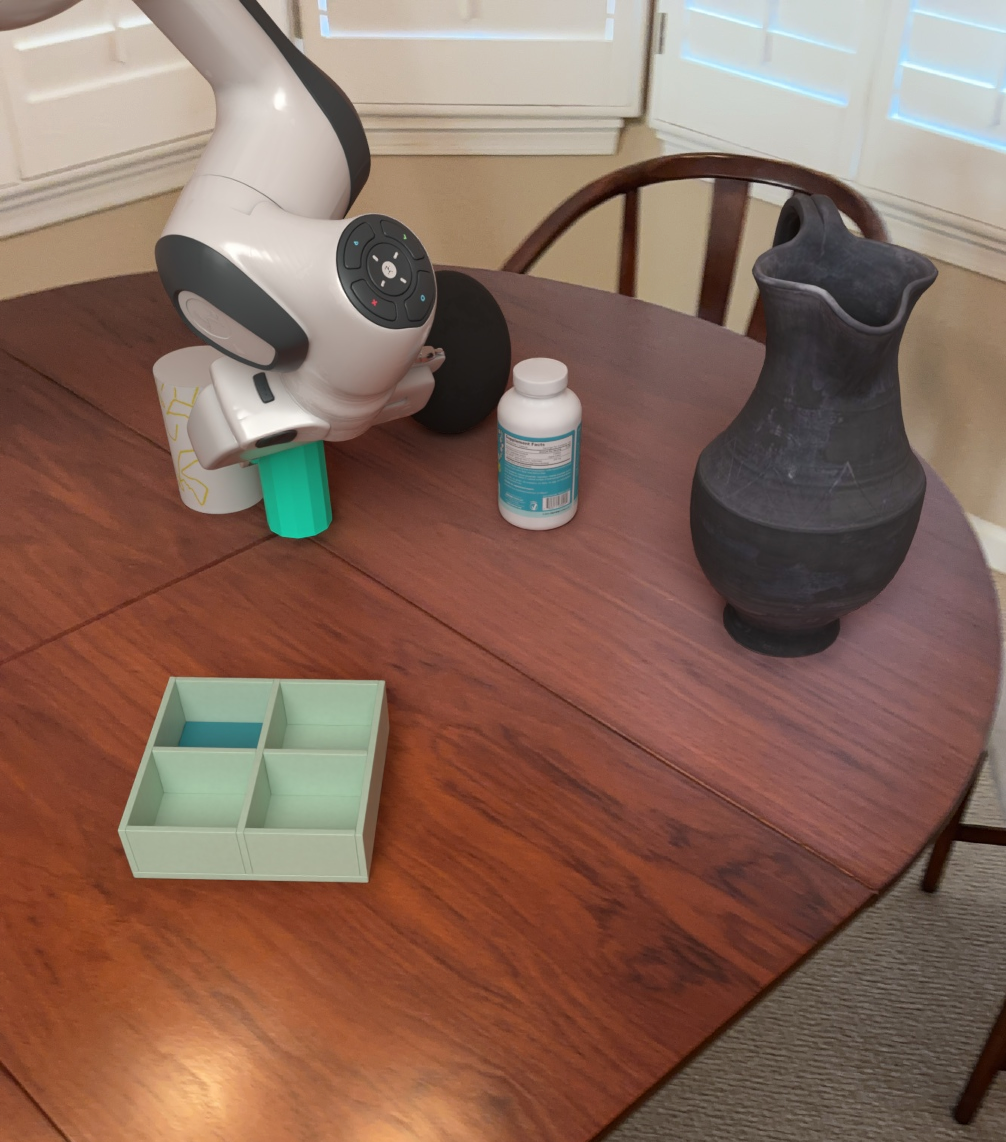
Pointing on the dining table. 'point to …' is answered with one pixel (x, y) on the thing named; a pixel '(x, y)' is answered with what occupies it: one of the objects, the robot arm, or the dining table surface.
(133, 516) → the dining table surface
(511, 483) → the pill bottle
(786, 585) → the pitcher
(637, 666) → the dining table surface
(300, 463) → the candle
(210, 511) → the cup
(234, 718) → the compartment tray
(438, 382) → the decorative egg
